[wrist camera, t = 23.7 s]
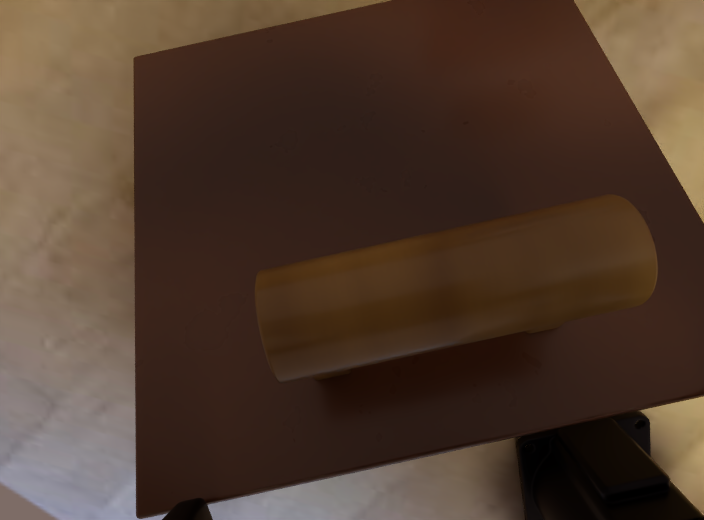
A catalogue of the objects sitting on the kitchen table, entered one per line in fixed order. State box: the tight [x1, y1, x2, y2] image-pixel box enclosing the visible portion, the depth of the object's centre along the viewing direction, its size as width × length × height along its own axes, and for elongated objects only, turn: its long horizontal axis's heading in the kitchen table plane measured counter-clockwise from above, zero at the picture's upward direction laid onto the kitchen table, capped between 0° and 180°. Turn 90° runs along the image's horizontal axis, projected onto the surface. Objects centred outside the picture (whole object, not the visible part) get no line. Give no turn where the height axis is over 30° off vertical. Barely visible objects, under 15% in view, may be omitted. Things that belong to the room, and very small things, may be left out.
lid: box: [134, 0, 704, 519], centre depth 9 cm, size 11×12×4 cm
